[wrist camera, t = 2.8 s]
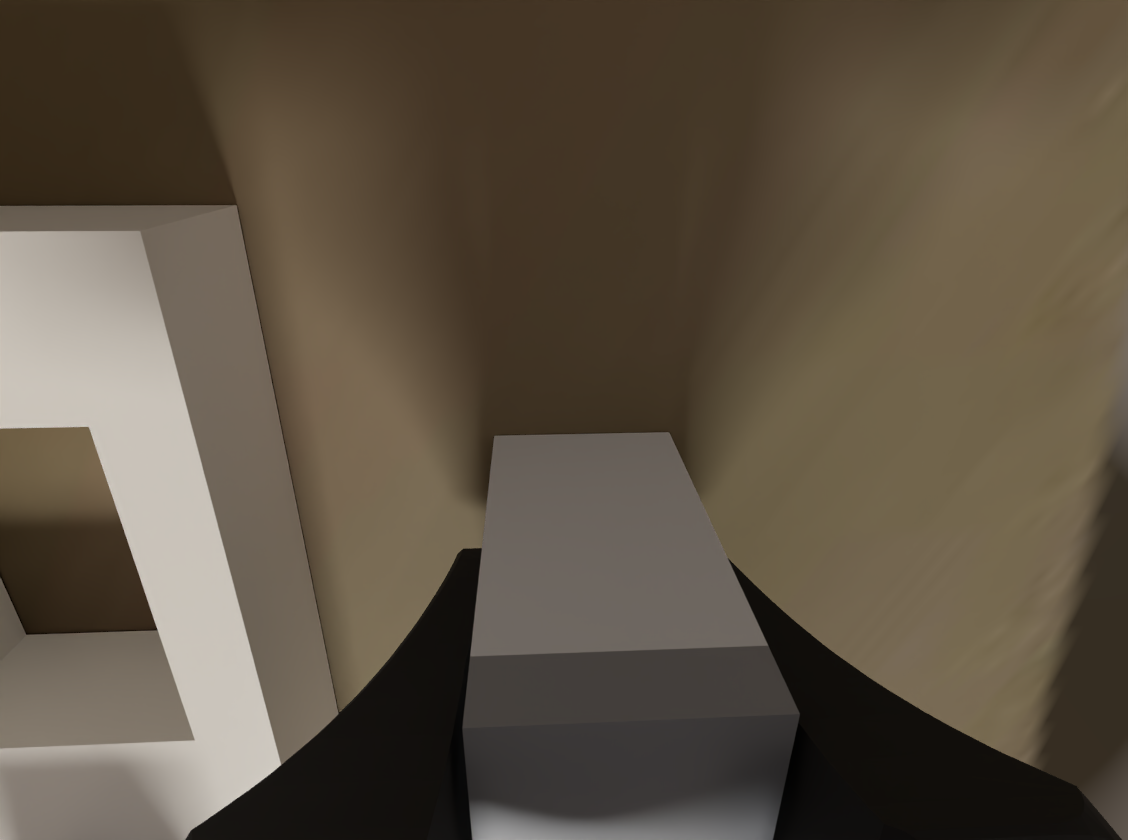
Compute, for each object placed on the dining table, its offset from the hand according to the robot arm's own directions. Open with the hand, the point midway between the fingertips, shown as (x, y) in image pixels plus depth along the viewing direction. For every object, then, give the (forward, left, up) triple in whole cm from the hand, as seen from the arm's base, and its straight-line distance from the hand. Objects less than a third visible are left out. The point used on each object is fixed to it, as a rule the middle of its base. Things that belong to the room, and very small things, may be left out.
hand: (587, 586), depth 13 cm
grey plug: (0, 0, -2) cm, 2 cm away
